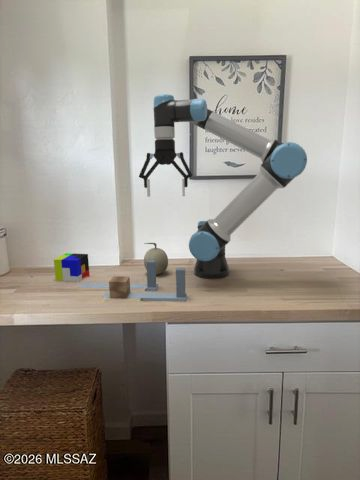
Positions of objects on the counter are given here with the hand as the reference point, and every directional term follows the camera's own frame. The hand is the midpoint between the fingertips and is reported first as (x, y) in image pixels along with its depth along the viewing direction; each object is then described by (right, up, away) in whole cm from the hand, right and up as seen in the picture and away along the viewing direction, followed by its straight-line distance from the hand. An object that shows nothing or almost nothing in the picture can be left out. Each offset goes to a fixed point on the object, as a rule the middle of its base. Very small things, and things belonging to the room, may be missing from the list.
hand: (166, 196), depth 136 cm
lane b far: (-26, -36, +1) cm, 44 cm away
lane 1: (-9, -36, 0) cm, 37 cm away
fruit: (-5, -32, +17) cm, 37 cm away
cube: (-16, -37, -9) cm, 41 cm away
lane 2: (-7, -38, -10) cm, 40 cm away
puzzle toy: (-40, -34, +11) cm, 53 cm away
